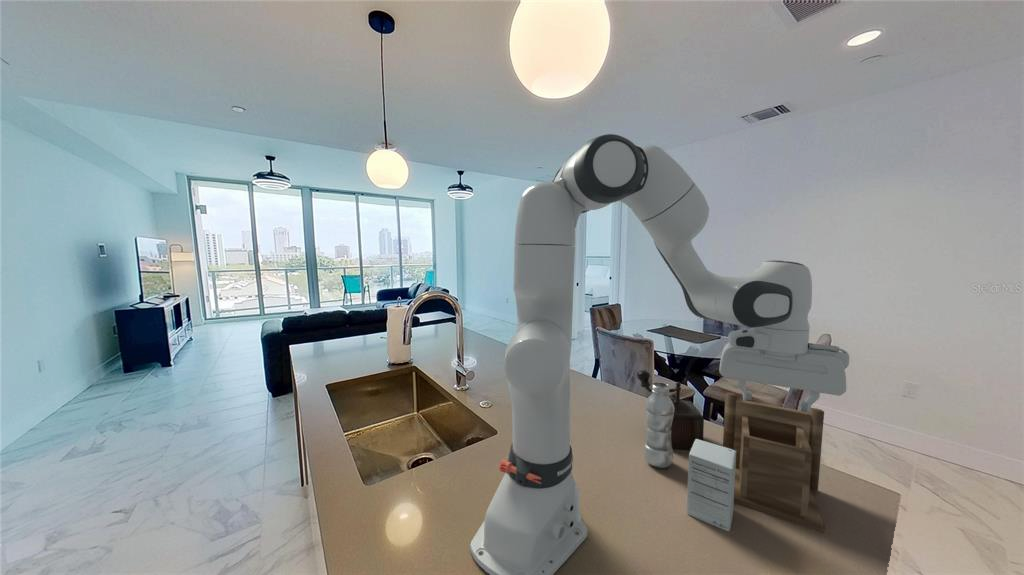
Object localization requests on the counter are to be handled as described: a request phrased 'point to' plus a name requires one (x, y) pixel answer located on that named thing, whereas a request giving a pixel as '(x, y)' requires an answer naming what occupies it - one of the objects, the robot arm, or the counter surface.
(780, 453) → the caddy
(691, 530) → the counter surface
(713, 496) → the supplement box
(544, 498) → the robot arm
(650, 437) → the plastic bottle
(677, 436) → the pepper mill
